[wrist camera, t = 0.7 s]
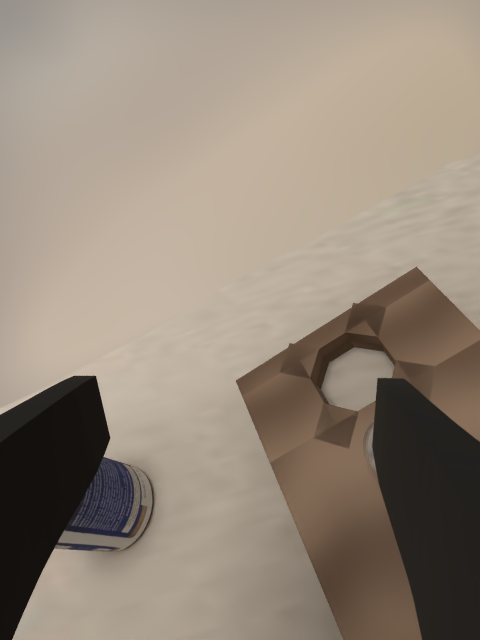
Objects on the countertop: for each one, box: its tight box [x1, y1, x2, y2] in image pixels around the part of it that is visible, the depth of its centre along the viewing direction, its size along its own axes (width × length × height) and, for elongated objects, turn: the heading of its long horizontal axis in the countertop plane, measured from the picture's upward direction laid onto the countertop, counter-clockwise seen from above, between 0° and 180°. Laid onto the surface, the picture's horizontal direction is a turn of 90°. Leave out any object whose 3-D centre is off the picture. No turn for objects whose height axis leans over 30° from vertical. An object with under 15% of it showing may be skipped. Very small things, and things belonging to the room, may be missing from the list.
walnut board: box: [236, 267, 480, 640], centre depth 20 cm, size 19×13×2 cm
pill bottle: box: [55, 457, 152, 552], centre depth 25 cm, size 5×5×10 cm
